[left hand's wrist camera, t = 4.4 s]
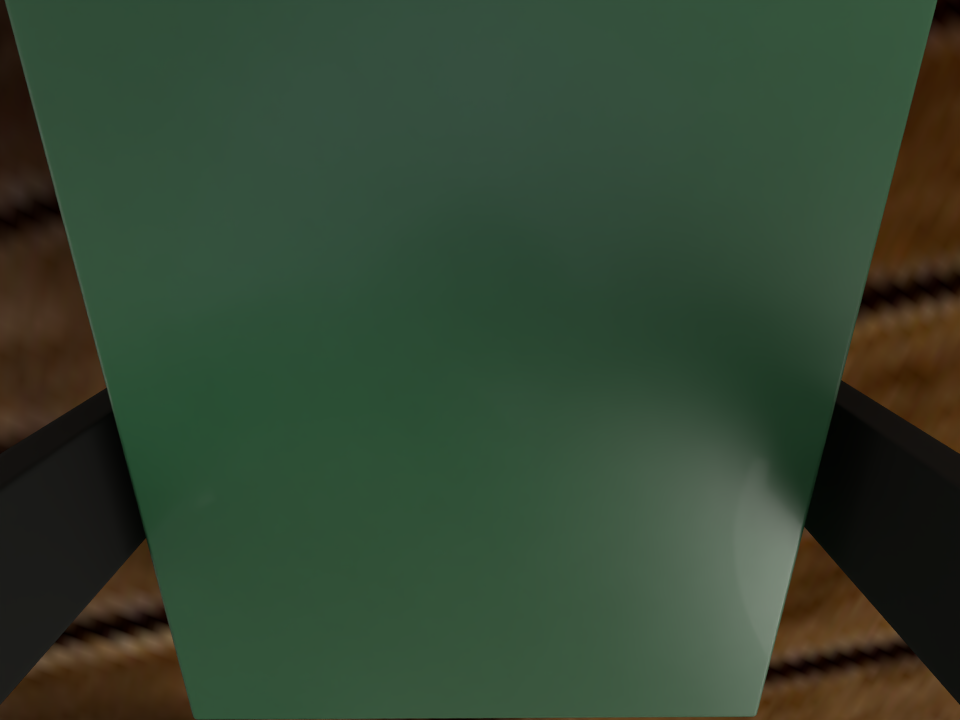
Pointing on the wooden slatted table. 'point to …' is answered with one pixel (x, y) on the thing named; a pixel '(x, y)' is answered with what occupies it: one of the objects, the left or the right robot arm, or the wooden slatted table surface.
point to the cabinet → (472, 329)
